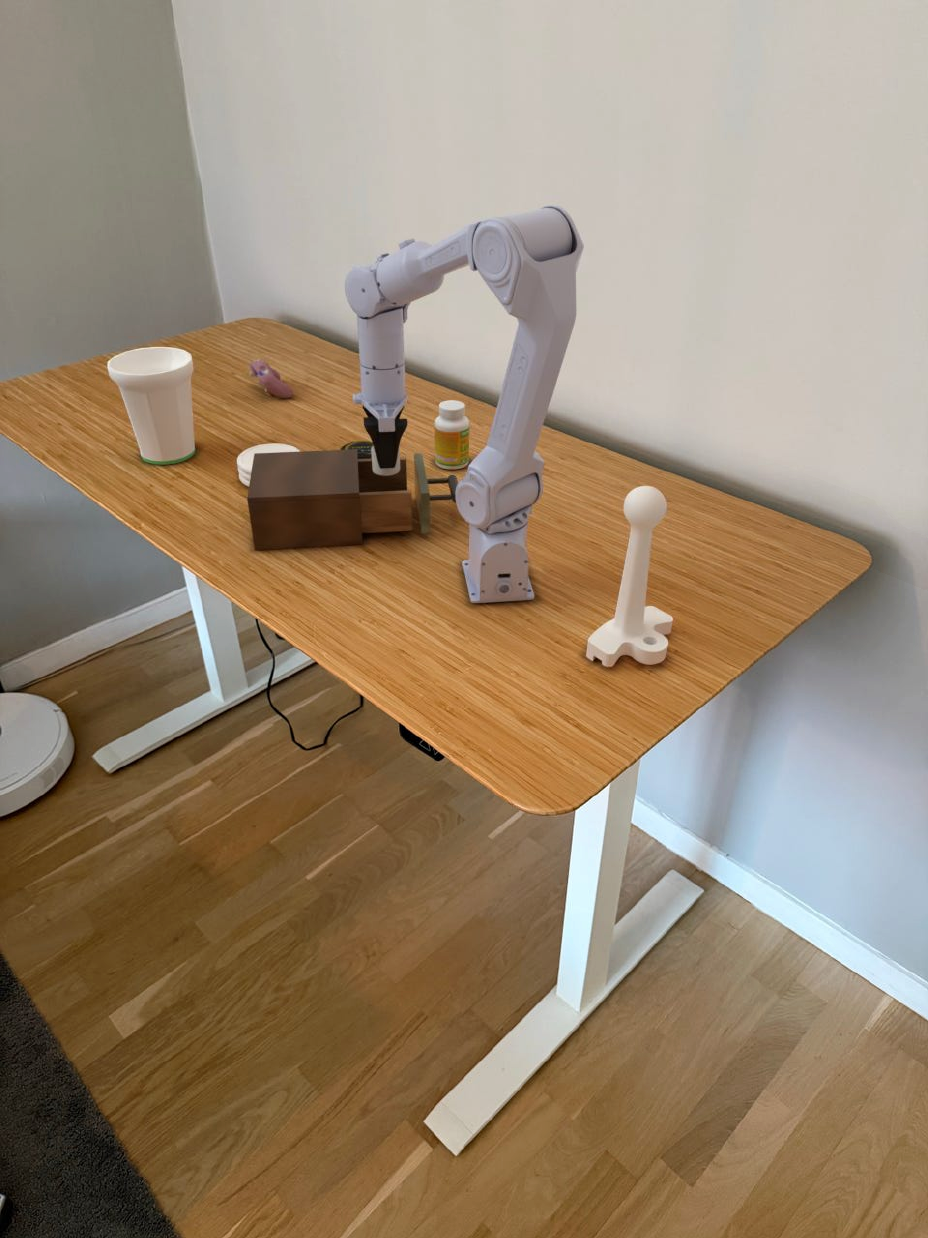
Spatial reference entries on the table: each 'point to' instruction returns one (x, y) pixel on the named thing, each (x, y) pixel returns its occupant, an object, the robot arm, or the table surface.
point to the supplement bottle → (451, 436)
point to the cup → (157, 401)
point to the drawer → (397, 497)
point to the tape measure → (360, 449)
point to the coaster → (248, 455)
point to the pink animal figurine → (270, 379)
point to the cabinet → (305, 499)
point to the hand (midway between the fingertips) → (386, 459)
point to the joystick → (635, 592)
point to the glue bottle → (386, 470)
